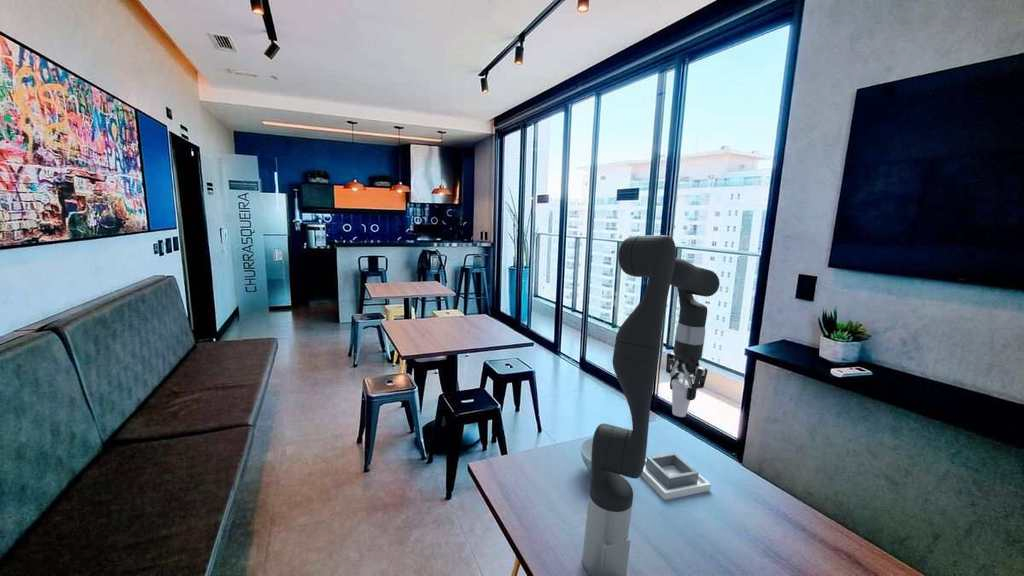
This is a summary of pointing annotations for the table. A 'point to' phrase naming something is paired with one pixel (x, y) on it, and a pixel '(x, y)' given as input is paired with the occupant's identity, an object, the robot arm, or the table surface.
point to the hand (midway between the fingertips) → (681, 394)
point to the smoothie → (680, 397)
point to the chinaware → (587, 452)
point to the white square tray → (673, 476)
